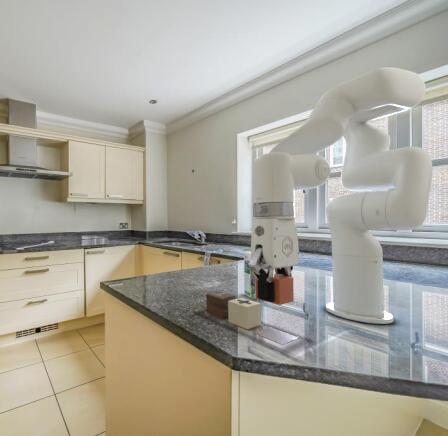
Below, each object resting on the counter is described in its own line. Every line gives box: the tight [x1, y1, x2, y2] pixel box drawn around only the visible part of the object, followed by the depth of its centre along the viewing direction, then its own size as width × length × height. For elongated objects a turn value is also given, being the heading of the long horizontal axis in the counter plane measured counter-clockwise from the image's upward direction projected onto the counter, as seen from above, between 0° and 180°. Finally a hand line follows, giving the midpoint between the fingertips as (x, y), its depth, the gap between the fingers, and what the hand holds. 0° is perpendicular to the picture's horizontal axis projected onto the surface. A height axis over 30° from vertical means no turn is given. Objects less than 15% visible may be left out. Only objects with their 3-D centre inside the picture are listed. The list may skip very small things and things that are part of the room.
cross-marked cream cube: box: [227, 297, 262, 330], centre depth 58 cm, size 5×5×5 cm
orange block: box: [255, 273, 295, 306], centre depth 52 cm, size 6×5×5 cm
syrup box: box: [243, 250, 269, 299], centre depth 80 cm, size 6×6×14 cm
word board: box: [203, 310, 300, 346], centre depth 58 cm, size 9×22×1 cm, turn 28°
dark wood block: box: [205, 290, 236, 319], centre depth 64 cm, size 5×5×5 cm
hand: (274, 297), depth 52 cm, fingers closed on orange block, 5 cm apart
